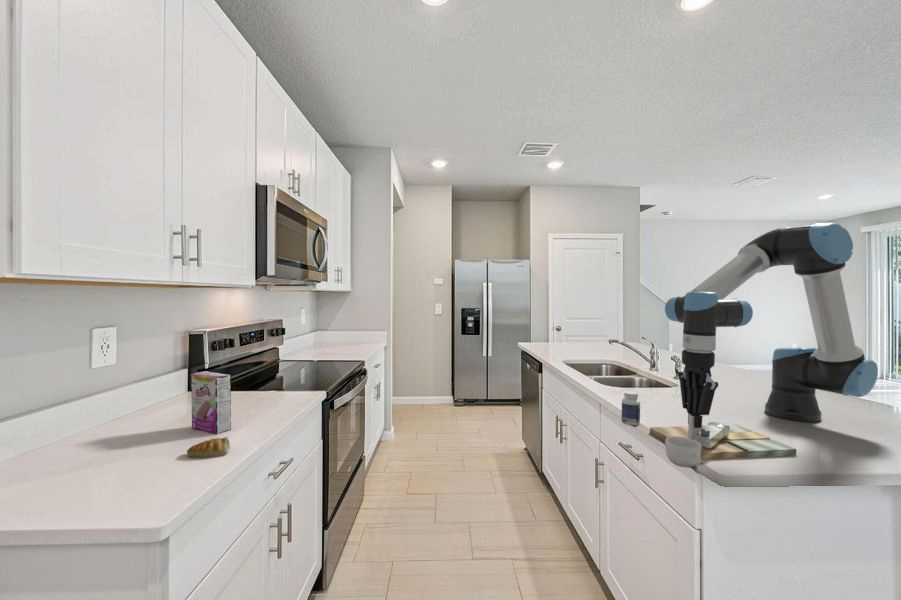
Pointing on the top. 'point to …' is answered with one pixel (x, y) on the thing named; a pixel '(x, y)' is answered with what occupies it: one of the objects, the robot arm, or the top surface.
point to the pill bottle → (630, 409)
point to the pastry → (210, 448)
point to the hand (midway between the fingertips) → (694, 438)
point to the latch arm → (712, 434)
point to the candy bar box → (211, 402)
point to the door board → (732, 443)
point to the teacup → (683, 451)
